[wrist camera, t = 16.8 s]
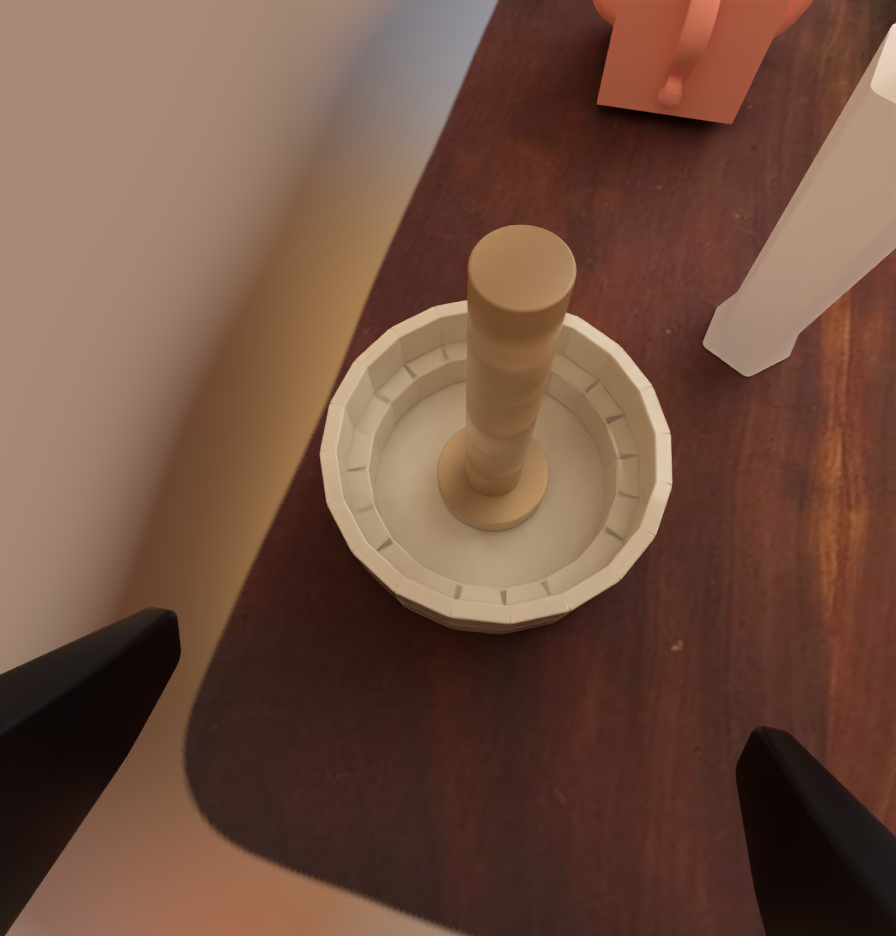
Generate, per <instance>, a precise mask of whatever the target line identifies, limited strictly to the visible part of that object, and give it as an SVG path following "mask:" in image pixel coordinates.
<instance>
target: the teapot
mask: <svg viewBox="0 0 896 936" xmlns="http://www.w3.org/2000/svg"><path fill="white" fill-rule="evenodd" d="M592 1H593V3H594V6H595V8H596V10H597V11H598V13H599V14H600V15H601V16H602V18H603V19H604V20H605V21H607V22H608V23H610V24H611V25H612V26H613V30H612V35H611V39H610V44H609V49H608V53H607V58H606V62H605V67H604V72H603V76H602V81H601V86H600V90H599V95H598V99H597V104H599V105H606V106H612V107H619V108H626V109H632V110H639V111H646V112H652V113H659V114H666V115H672V116H679V117H686V118H693V119H699V120H706V121H712V122H719V123H726V124H732V123H733V121H734V119H735V117H736V114H737V112H738V110H739V108H740V106H741V104H742V102H743V100H744V98H745V96H746V94H747V92H748V89H749V87H750V85H751V83H752V81H753V79H754V77H755V75H756V73H757V71H758V69H759V67H760V64H761V62H762V60H763V58H764V56H765V54H766V52H767V50H768V48H769V46H770V44H771V42H772V39H773V38H774V37H776V36H777V35H779V34H781V33H782V32H783V31H785V30H786V29H787V28H789V27H790V26H791V25H792V24H793V23H794V22H795V21H796V20H797V19H798V18H799V17H800V16H801V15H802V14H803V13H804V11H805V10H806V9H807V8H808V6H809V5H810V4H811V3H812V1H813V0H592Z"/></svg>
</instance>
